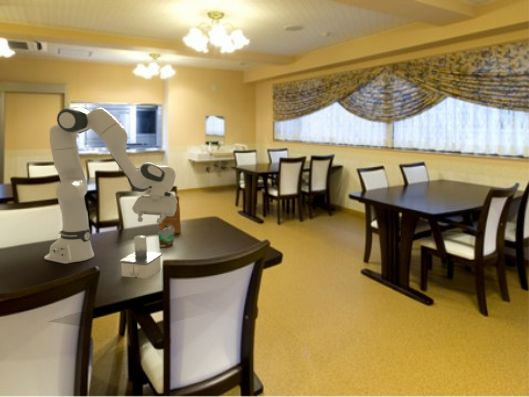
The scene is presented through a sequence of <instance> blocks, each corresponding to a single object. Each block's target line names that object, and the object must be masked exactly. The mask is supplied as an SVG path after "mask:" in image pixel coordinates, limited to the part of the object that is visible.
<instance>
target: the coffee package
mask: <svg viewBox="0 0 529 397" xmlns="http://www.w3.org/2000/svg"><path fill="white" fill-rule="evenodd" d="M175 197H176V199H177V204H176V206H177V207H176V212H175V214H174V215H173V216H166V217H165V218H164V219H163V220H162V222H161V223H158V226H159V230H162V229H163V228H166V227H167V225H172V226H173V227H174V229H175V231H174V232H173V235H177V234H181V231H182V230H181V229H182V224H181V208H180V196H178V195H177V196H175ZM160 217H161V216H160V215H159V218H160Z"/></svg>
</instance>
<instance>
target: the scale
mask: <svg viewBox="0 0 529 397" xmlns="http://www.w3.org/2000/svg"><path fill="white" fill-rule="evenodd" d="M161 260H162V259H161V256H160V257H158V258H157V259H156V260H154V261H153V262H151V263H150V264H148V265H141V264H131V263H121V262H120V263H121V264H120V266H121V277H127V278H135V277H137V278H136V279H144V278H145V280H146V279H150V277H152V276H153V275H155V274H156V273H158V272H159V271H160V270H161V269H162V266H161V265H162V261H161Z"/></svg>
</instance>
